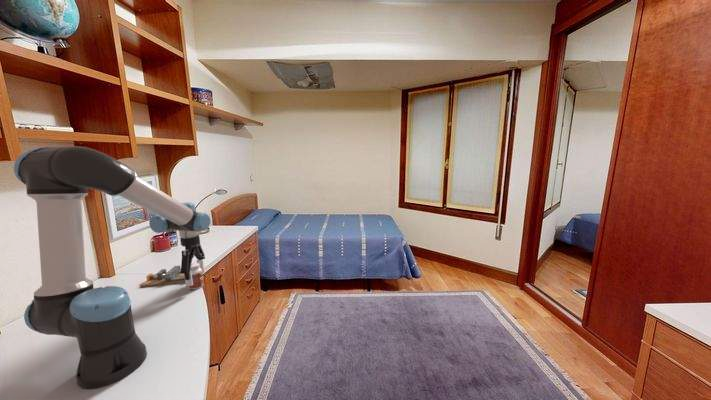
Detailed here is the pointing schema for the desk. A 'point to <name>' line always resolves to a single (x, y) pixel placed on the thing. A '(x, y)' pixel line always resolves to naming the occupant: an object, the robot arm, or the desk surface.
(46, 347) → the desk surface
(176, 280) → the mount
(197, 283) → the pill bottle
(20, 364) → the desk surface
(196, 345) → the desk surface
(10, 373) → the desk surface
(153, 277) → the pin
